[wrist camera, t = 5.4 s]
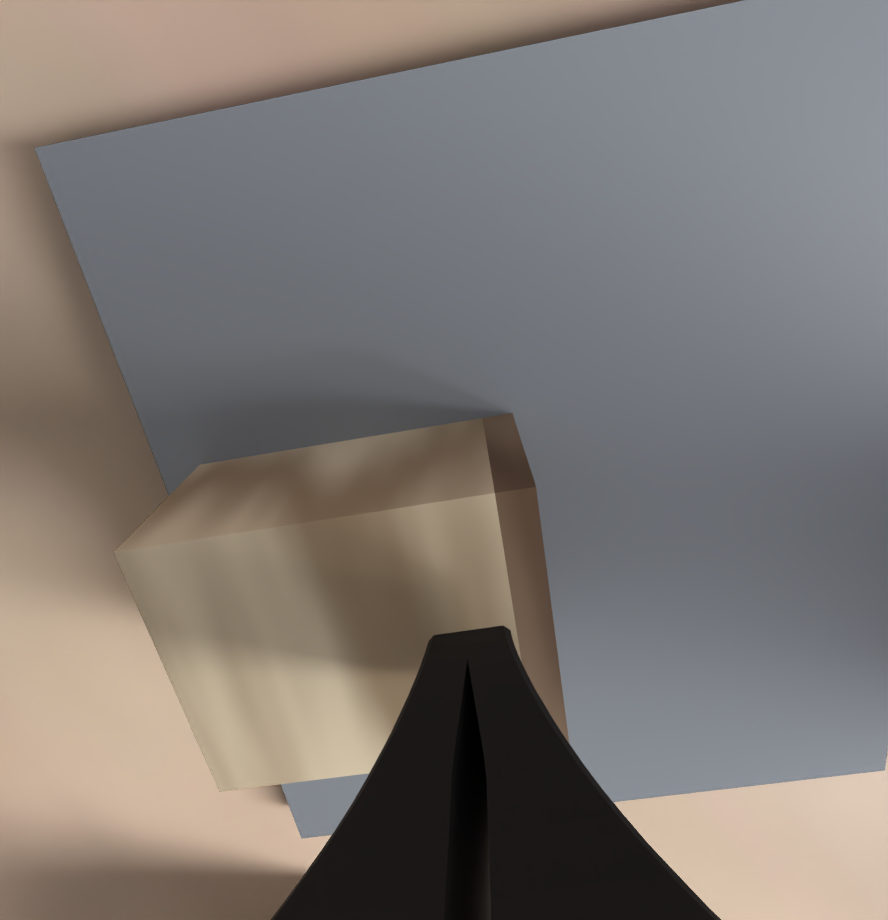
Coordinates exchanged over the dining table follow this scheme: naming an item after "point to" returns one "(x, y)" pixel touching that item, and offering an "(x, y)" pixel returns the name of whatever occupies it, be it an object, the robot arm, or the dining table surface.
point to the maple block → (338, 590)
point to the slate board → (566, 347)
